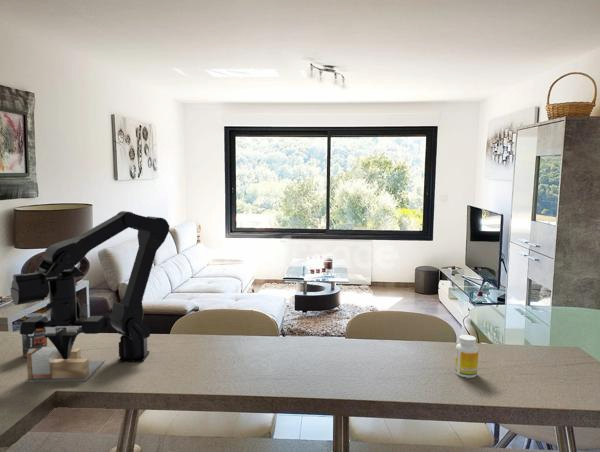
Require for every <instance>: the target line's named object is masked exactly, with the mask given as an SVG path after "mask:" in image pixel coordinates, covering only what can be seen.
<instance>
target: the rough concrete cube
mask: <svg viewBox="0 0 600 452" xmlns="http://www.w3.org/2000/svg"><path fill="white" fill-rule="evenodd" d="M56 359H60V353H59V351H58V350H57V348H56V347H55V346H47V347H42V348H41V349H39V350H38V351H36V352H35V353H34V354H32V374H33V375H35V374H51V373H52V367H51V363H52V362H54V361H55V360H56Z"/></svg>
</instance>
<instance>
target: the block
mask: <svg viewBox="0 0 600 452" xmlns="http://www.w3.org/2000/svg"><path fill="white" fill-rule="evenodd" d="M36 351H37V349H32V350H31V351H29V352H28V353H27V357H26V364H27V365H26V367H27V380H28V379H38V378H86V377H87V376H88V375H89V361H90V359H89V358H82V357H81V348H77V347H75V348H73V347H72V350H71V353H70V356H69V358H68V359H67V360H66V359H65V360H64V359H63V358H62V356H61V355H60V359H56V360H55V361H54V362H52V363H51V367H52V373H51V374H35V375H33V374H32V354H34V353H35V352H36Z"/></svg>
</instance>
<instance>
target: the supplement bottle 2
mask: <svg viewBox="0 0 600 452" xmlns="http://www.w3.org/2000/svg"><path fill="white" fill-rule="evenodd" d="M458 341H459V343H457V344H456V346H455V356H454V357H455V358H454V359H455V360H454V373H455V374H456V375H457V376H459V377H463V378H467V379H472V378H475V377H476V376H477V375H478V363H479V347H478V346H477V345H476V344H477V338H476V337H475V336H473V335H469V334H461V335H459V338H458Z"/></svg>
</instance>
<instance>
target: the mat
mask: <svg viewBox="0 0 600 452" xmlns="http://www.w3.org/2000/svg"><path fill="white" fill-rule="evenodd" d="M104 363H105V360H89V375H88V376H87V377H86V378H38V379H28V378H27V380H26V382H28V383H31V382H32V383H33V382H34V383H35V382H38V383H40V382H41V383H42V382H43V383H44V382H47V383H48V382H87V381H88V380H89V379H90V378H91V377H92V376H93V375H94V374H95V373H96V372H97V370H98V369H100V368H101V366H102V365H103V364H104Z"/></svg>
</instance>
